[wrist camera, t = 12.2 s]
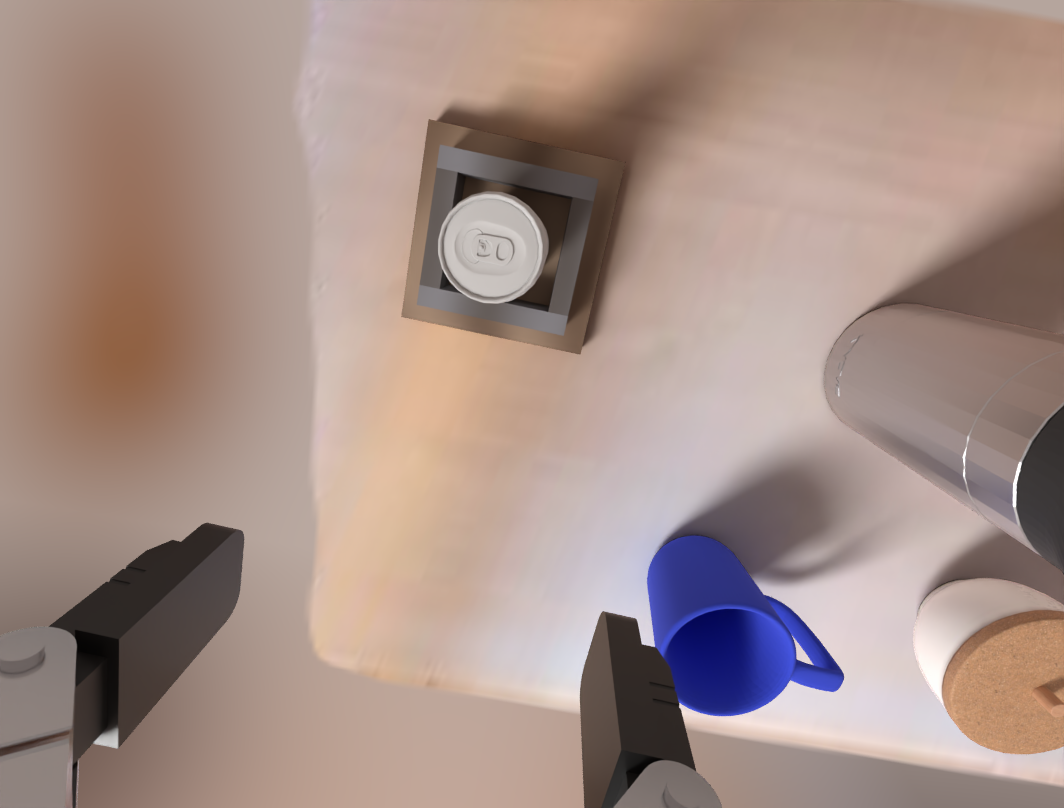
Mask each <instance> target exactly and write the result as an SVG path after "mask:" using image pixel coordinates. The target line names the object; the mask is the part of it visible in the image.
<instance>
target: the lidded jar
mask: <svg viewBox="0 0 1064 808" xmlns="http://www.w3.org/2000/svg"><path fill="white" fill-rule="evenodd" d="M913 646H914V651H915V655H916V659H917V663H918V665H919V667H920V669H921V672H922V674H923V676H924V678H925V680H926V682H927V683H928V685H929V687H930V688H931V690H932V691H933V693H934V694H935V696H936V697H937V698H938V700H939V701H940V702H941V704H942V705H943V706H944V707H945V709H946V710H947V712H948V714H949V716H950V717H951V719H952V720H953V721H954V722H955V724H956V725H957V726H958V728H959V729H960V730H961V731H962V732H963V733H964V734H965V735H966V736H967V737H968V738H969V739H971V740H972V741H974V742H976V743H977V744H979V745H981V746H984V747H986V748H989V749H991V750H995V751H999V752H1003V753H1010V754H1034V753H1041V752H1046V751H1050V750H1055V749H1058V748H1061V747H1063V746H1064V605H1063V604H1061V603H1060V602H1058V601H1057V600H1055V599H1053V598H1051V597H1050V596H1048V595H1046V594H1044V593H1042V592H1039V591H1037V590H1035V589H1033V588H1030V587H1028V586H1025V585H1023V584H1019V583H1015V582H1012V581H1008V580H1003V579H993V578H975V579H965V580H956V581H952V582H948V583H946V584H943V585H941V586H940V587H938V588H936V589H935V590H933V591H932V592H931V593H930V594H929V595H928V596H927V597H926V598H925V599H924V601H923V602H922V604H921V606H920V608H919V611H918V615H917V619H916V622H915V625H914V632H913Z"/></svg>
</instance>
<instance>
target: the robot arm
mask: <svg viewBox="0 0 1064 808" xmlns="http://www.w3.org/2000/svg"><path fill="white" fill-rule="evenodd" d="M824 388H825V392H826V397H827V400H828V402H829V404H830V406H831V409H832V410H833V412H834V413H835V414H836V415H837V417H838V418H839V419H840V420H841V421H842V422H844V423H845V424H846V425H848V426H849V427H850V428H852V429H853V430H855V431H856V432H858V433H859V434H861V435H862V436H864V437H865V438H866V439H868V440H869V441H871V442H872V443H874V444H875V445H876V446H878V447H879V448H881V449H882V450H884V451H885V452H887V453H888V454H890V455H891V456H893V457H894V458H896V459H897V460H899V461H900V462H901V463H903V464H904V465H906V466H907V467H909V468H910V469H912V470H913V471H915V472H916V473H918V474H919V475H921V476H922V477H924V478H925V479H927V480H928V481H930V482H931V483H933V484H934V485H935V486H937V487H938V488H940V489H941V490H943V491H944V492H946V493H947V494H949V495H950V496H952V497H953V498H955V499H956V500H958V501H959V502H961V503H962V504H964V505H965V506H967V507H968V508H969V509H971V510H972V511H974V512H975V513H977V514H978V515H980V516H981V517H983V518H984V519H986V520H987V521H989V522H990V523H992V524H994V525H995V526H997V527H998V528H1000V529H1001V530H1003V531H1004V532H1006V533H1007V534H1009V535H1010V536H1011V537H1013V538H1014V539H1016V540H1017V541H1019V542H1020V543H1022V544H1023V545H1025V546H1026V547H1028V548H1029V549H1031V550H1032V551H1034V552H1035V553H1037V554H1038V555H1040V556H1041V557H1043V558H1044V559H1046V560H1047V561H1048V562H1050V563H1051V564H1053V565H1054V566H1056V567H1057V568H1059V569H1060V570H1061V571H1062V572H1063V574H1064V335H1063V334H1059V333H1054V332H1049V331H1044V330H1039V329H1035V328H1030V327H1025V326H1020V325H1015V324H1011V323H1006V322H1001V321H996V320H992V319H987V318H982V317H977V316H972V315H968V314H964V313H959V312H954V311H949V310H944V309H939V308H934V307H929V306H924V305H919V304H913V303H899V304H894V305H889V306H884V307H881V308H879V309H876V310H874V311H871V312H869V313H867V314H866V315H864V316H863V317H861V318H860V319H858V320H856V321H855V322H854V323H853V324H852V325H851V326H850V327H849V328H847V329H846V330H845V331H844V332H843V334H842V335H841V336H840V338H839V339H838V340H837V342H836V343H835V344H834V347H833V349H832V351H831V353H830V355H829V357H828V360H827V364H826V368H825V372H824ZM243 548H244V534H243V532H242V531H241V530H237V529H233V528H228V527H224V526H219V525H215V524H210V523H205V524H202V525H201V526H200V527H198V528H197V529H196V530H195V531H194V532H192V533H191V534H190V535H189V536H188V537H186V538H185V539H184V540H183V541H182V542H179V541H175V540H171V541H169V542H166V543H164V544H161V545H159V546H157V547H154V548H152V549H149V550H147V551H145V552H144V553H143V554H141V555H140V556H139V557H138V558H136V559H135V560H134V561H132V562H131V563H130V564H129V565H127V567H126V569H122V570H121V571H120V572H118V573H117V574H116V575H115V576H113V577H112V578H111V579H110V581H109V582H105V583H104V584H103V585H102V586H100V587H99V588H98V589H97V590H95V591H94V592H93V593H91V594H90V595H89V596H87V597H86V598H85V599H84V600H82V601H81V602H80V603H79V604H77V605H76V606H75V607H73V608H72V609H71V610H69V611H68V612H67V613H66V614H64V615H63V616H62V617H60V618H59V619H58V620H57V621H55V622H54V623H53V624H51V625H50V626H49V627H31V628H25V629H20V630H16V631H12V632H9V633H6V634H3V635H1V636H0V808H77V797H78V773H79V772H78V771H79V758H80V757H81V756H82V755H83V754H84V752H85V751H86V750H87V749H88V748H89V747H90V746H91V744H93V743H94V744H99V745H103V746H108V747H113V748H117V749H118V748H119V747H120V746H121V745H122V743H123V742H124V741H125V740H126V739H127V737H128V736H129V735H130V734H131V733H132V732H133V730H134V729H135V728H136V727H137V726H138V725H139V723H140V722H141V721H142V720H143V719H144V718H145V716H146V715H147V714H148V713H149V712H150V710H151V709H152V708H153V707H154V706H155V705H156V703H157V702H158V701H159V700H160V699H161V697H162V696H163V695H164V694H165V693H166V692H167V690H168V689H169V688H170V687H171V686H172V684H173V683H174V682H175V681H176V680H177V679H178V677H179V676H180V675H181V674H182V673H183V672H184V670H185V669H186V668H187V667H188V666H189V665H190V663H191V662H192V661H193V660H194V659H195V658H196V656H197V655H198V654H199V653H200V652H201V650H202V649H203V648H204V647H205V646H206V645H207V643H208V642H209V641H210V640H211V639H212V638H213V636H214V635H215V634H216V633H217V632H218V630H219V629H220V628H221V627H222V626H223V625H224V623H225V622H226V621H227V620H228V618H229V617H230V615H231V614H232V612H233V610H234V608H235V606H236V603H237V600H238V597H239V592H240V584H241V572H242V560H243ZM580 712H581V736H582V760H583V780H584V781H583V784H584V806H585V808H722V805H721V802H720V800H719V798H718V796H717V794H716V792H715V791H714V789H713V788H712V787H711V785H710V784H709V783H708V782H707V781H706V780H705V779H704V778H703V777H702V776H701V775H700V774H698V773H697V772H696V768H695V764H694V761H693V757H692V753H691V749H690V745H689V741H688V737H687V733H686V729H685V725H684V721H683V717H682V713H681V709H680V708H679V701H678V697H677V693H676V691H675V685H674V681H673V677H672V673H671V669H670V666H669V665H668V663H667V662H666V661H665V659H664V658H663V656H662V655H661V654H660V652H659V651H658V649H657V648H655V647H651V646H646V645H642V643H641V638H640V633H639V628H638V623H637V620H636V619H635V618H631V617H626V616H622V615H617V614H613V613H608V612H604V611H603V612H602V613H601V615H600V617H599V620H598V623H597V626H596V629H595V633H594V636H593V639H592V642H591V646H590V649H589V652H588V656H587V659H586V662H585V665H584V669H583V674H582V679H581V687H580Z"/></svg>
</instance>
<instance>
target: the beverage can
mask: <svg viewBox="0 0 1064 808" xmlns="http://www.w3.org/2000/svg"><path fill="white" fill-rule="evenodd" d="M548 251H549V239H548V234H547V231H546V229H545V227H544V225H543V223H542V221H541V220H540V218H539V217H538V216H537V215H536V214H535V212H534V211H533V210H532V209H531V208H530V207H529V206H528V205H527V204H525V203H524V202H522V201H521V200H519V199H518V198H516V197H515V196H512V195H509V194H506V193H503V192H489V191H486V192H482V193H478V194H473V195H471V196H469V197H467V198H466V199H464V200H462V201H460V202H459V203H458V204H457V205H456V206H455V207H454V208H453V209H452V210H451V211H450V212H449V214H448V215H447V217H446V219H445V221H444V222H443V224H442V227H441V231H440V235H439V239H438V255H439V259H440V263H441V267H442V269H443V271H444V273H445V275H446V276H447V278H448V280H449V281H450V282H451V283H452V284H453V286H454V287H455V288H456V289H457V290H458V291H460V292H461V293H463V294H464V295H466V296H467V297H469V298H471V299H473V300H476V301H480V302H483V303H495V304H498V303H503V302H508V301H512V300H514V299H516V298H517V297H519V296H521V295H523V294H525V293H526V292H527V291H528V290H529V289H530V288H531V287H532V286H533V285H534V284H535V282H536V281H537V279H538V278H539V276H540V274H541V273H542V270H543V267H544V264H545V261H546V257H547V254H548Z"/></svg>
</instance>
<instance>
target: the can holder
mask: <svg viewBox="0 0 1064 808" xmlns="http://www.w3.org/2000/svg"><path fill="white" fill-rule="evenodd" d="M624 167H625V162H622V161H618V160H613V159H608V158H604V157H599V156H595V155H590V154H586V153H581V152H576V151H572V150H567V149H563V148H558V147H553V146H549V145H544V144H540V143H535V142H531V141H526V140H521V139H517V138H512V137H508V136H503V135H498V134H494V133H489V132H485V131H480V130H476V129H471V128H466V127H462V126H457V125H453V124H448V123H443V122H439V121H434V120H430V119H429V121H428V128H427V136H426V143H425V150H424V157H423V164H422V172H421V179H420V186H419V193H418V201H417V208H416V215H415V222H414V230H413V237H412V244H411V251H410V259H409V266H408V273H407V280H406V288H405V295H404V302H403V309H402V316H401V317H405V318H409V319H414V320H419V321H424V322H428V323H433V324H438V325H443V326H447V327H452V328H457V329H462V330H466V331H471V332H476V333H481V334H485V335H490V336H495V337H500V338H504V339H509V340H514V341H519V342H523V343H528V344H533V345H538V346H542V347H547V348H552V349H557V350H561V351H566V352H571V353H576V354H581V350H582V345H583V341H584V337H585V333H586V328H587V324H588V320H589V316H590V311H591V307H592V303H593V299H594V294H595V290H596V286H597V282H598V277H599V273H600V269H601V265H602V260H603V256H604V252H605V248H606V243H607V239H608V235H609V231H610V226H611V222H612V218H613V214H614V209H615V205H616V201H617V196H618V192H619V188H620V184H621V179H622V175H623V171H624ZM486 191H489V192H503V193H506V194H509V195H512V196H515V197H516V198H518V199H519V200H521V201H522V202H524V203H525V204H527V205H528V206H529V207H530V208H531V209H532V210H533V211H534V212H535V214H536V215H537V216H538V217H539V218H540V220H541V221H542V223H543V225H544V227H545V229H546V231H547V234H548V239H549V251H548V254H547V257H546V261H545V264H544V267H543V270H542V273H541V274H540V276H539V278H538V279H537V281H536V282H535V284H534V285H533V286H532V287H531V288H530V289H529V290H528V291H527V292H526V293H525V294H523V295H521V296H519V297H517V298H516V299H514V300H512V301H508V302H503V303H498V304H495V303H483V302H480V301H476V300H473V299H471V298H469V297H467V296H466V295H464V294H463V293H461V292H460V291H458V290H457V289H456V288H455V287H454V286H453V284H452V283H451V282H450V281H449V280H448V278H447V276H446V275H445V273H444V271H443V269H442V267H441V263H440V259H439V255H438V239H439V235H440V231H441V227H442V224H443V222H444V221H445V219H446V217H447V215H448V214H449V212H450V211H451V210H452V209H453V208H454V207H455V206H456V205H457V204H458V203H459V202H460V201H462V200H464V199H466V198H467V197H469V196H471V195H473V194H478V193H482V192H486Z"/></svg>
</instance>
